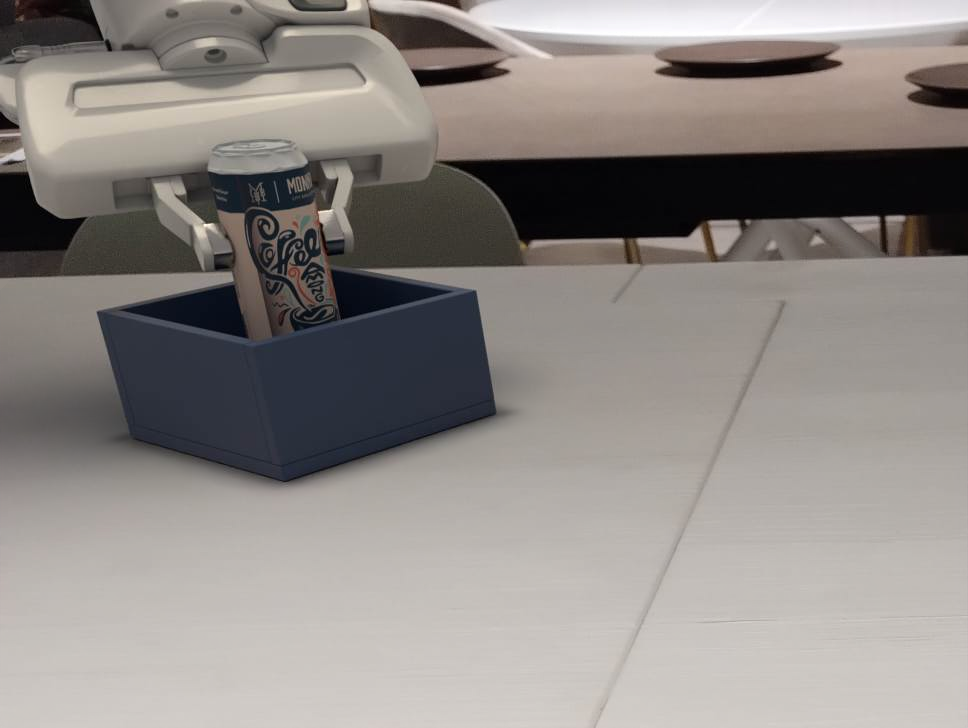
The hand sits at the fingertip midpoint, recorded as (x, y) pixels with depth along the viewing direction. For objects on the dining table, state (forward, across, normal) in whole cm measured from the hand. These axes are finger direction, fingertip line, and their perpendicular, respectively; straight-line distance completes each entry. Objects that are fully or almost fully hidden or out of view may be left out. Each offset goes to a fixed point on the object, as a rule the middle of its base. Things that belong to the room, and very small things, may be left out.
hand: (281, 255), depth 87 cm
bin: (+6, 0, +7) cm, 9 cm away
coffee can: (+4, 0, +5) cm, 7 cm away
